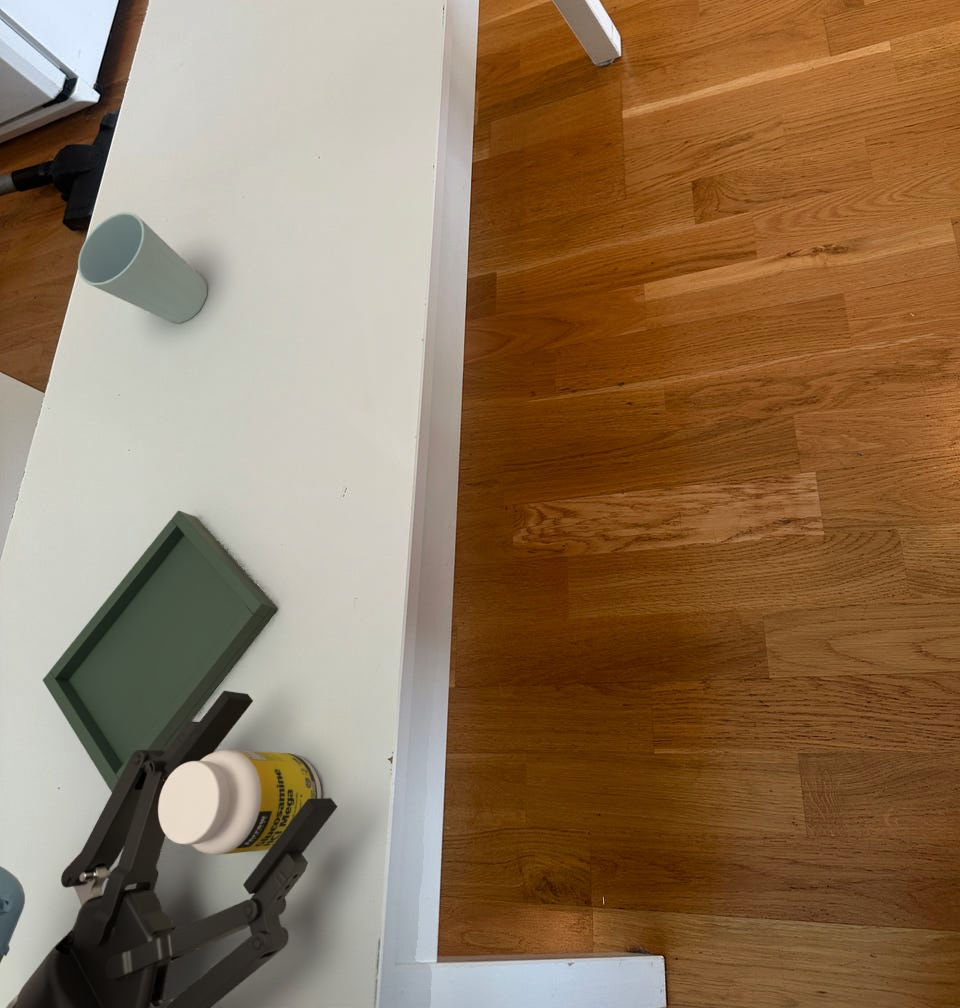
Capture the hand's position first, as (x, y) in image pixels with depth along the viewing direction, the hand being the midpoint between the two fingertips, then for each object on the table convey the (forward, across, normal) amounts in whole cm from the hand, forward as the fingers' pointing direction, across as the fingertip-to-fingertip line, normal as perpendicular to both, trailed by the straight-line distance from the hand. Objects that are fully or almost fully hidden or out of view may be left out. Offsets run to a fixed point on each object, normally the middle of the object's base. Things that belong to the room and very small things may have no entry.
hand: (278, 746), depth 59 cm
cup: (+18, -43, -6) cm, 47 cm away
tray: (-5, -18, -6) cm, 19 cm away
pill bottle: (-4, 0, -6) cm, 8 cm away
